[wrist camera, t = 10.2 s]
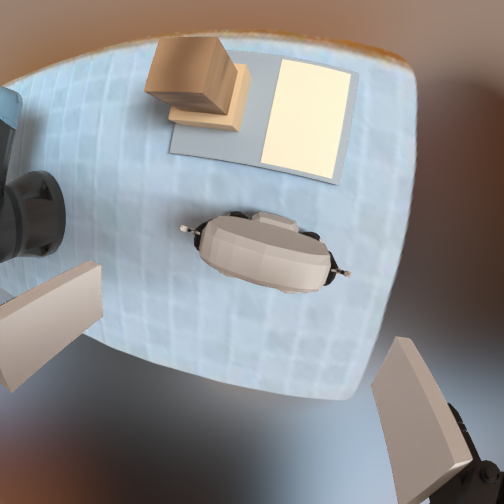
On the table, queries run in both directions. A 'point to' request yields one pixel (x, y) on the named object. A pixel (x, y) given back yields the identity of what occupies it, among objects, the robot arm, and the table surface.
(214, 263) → the robot toy
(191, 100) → the walnut block
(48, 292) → the robot arm
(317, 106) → the board
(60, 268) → the table surface
